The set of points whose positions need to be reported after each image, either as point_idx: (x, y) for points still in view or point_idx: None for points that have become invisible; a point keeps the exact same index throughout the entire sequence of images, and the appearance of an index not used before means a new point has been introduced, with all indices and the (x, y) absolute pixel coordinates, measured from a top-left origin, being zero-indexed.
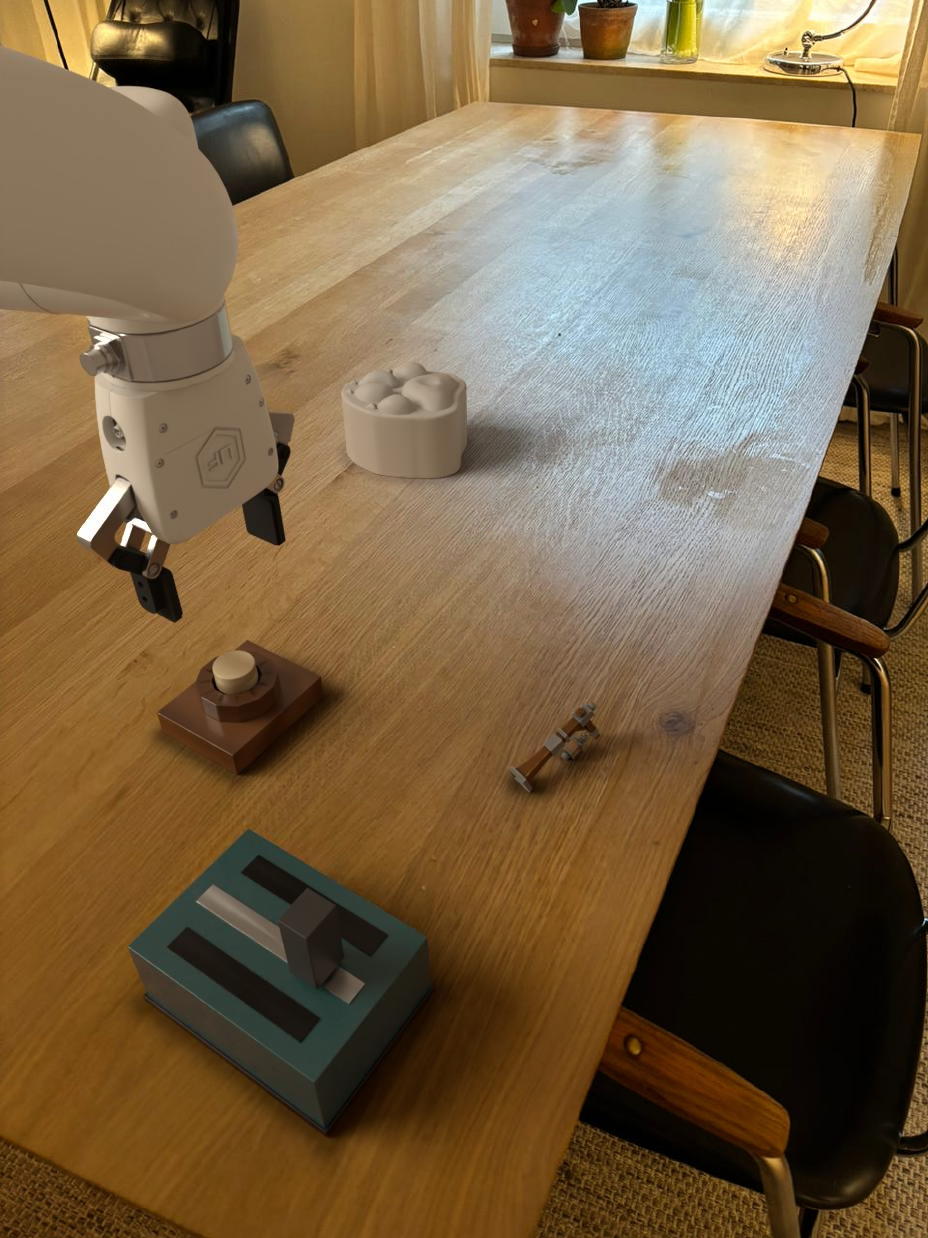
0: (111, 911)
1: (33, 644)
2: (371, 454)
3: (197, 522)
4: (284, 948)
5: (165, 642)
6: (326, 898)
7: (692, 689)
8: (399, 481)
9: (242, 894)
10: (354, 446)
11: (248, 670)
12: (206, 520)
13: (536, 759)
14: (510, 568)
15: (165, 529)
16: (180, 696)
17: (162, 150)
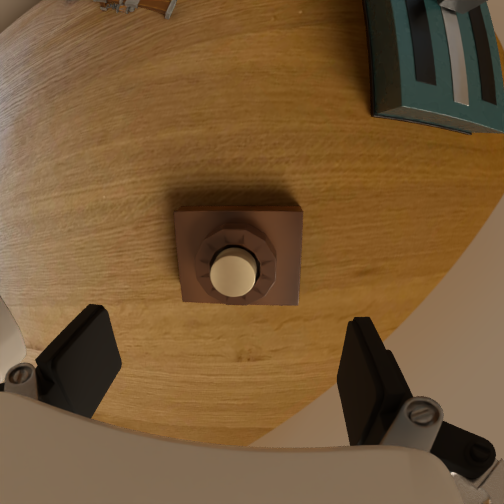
0: (439, 200)
1: (277, 413)
2: (12, 339)
3: (339, 491)
4: (479, 4)
5: (219, 355)
6: (409, 12)
7: (47, 11)
8: (13, 312)
9: (446, 74)
10: (17, 353)
11: (229, 258)
12: (289, 479)
13: (151, 2)
14: (9, 185)
15: (459, 499)
16: (272, 302)
17: None
